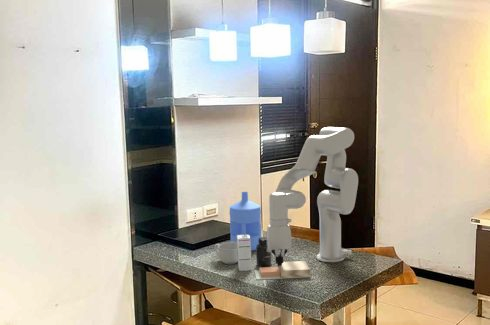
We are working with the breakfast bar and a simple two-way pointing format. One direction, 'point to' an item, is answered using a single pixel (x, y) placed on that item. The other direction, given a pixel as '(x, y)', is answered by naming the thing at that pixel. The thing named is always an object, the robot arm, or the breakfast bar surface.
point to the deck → (294, 269)
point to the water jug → (246, 220)
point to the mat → (258, 277)
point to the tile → (269, 271)
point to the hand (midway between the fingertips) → (279, 264)
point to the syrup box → (244, 252)
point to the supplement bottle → (263, 253)
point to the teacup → (227, 252)
